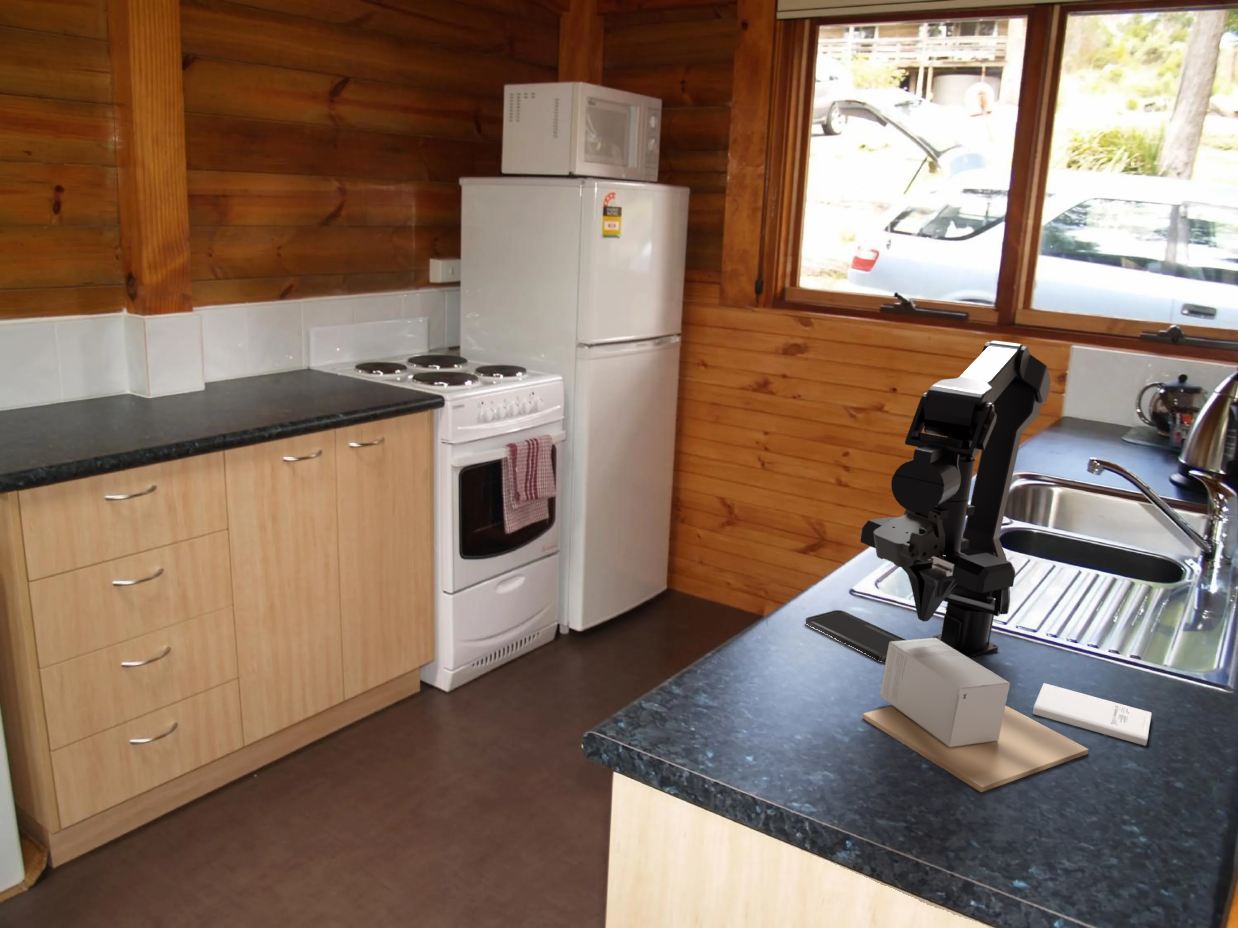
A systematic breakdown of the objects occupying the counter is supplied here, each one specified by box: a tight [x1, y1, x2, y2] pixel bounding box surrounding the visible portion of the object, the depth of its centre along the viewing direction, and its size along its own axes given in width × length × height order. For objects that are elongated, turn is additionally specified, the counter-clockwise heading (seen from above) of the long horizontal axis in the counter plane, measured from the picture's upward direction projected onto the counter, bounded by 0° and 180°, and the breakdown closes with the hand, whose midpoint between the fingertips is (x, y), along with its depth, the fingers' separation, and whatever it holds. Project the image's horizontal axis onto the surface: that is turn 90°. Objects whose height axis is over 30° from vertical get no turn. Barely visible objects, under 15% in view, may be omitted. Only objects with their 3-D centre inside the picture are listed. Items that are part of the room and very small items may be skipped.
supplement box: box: [879, 637, 1011, 747], centre depth 118 cm, size 7×7×13 cm
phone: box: [805, 609, 907, 663], centre depth 142 cm, size 8×1×15 cm
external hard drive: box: [1032, 682, 1153, 747], centre depth 123 cm, size 2×8×12 cm
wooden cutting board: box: [862, 705, 1089, 793], centre depth 116 cm, size 18×17×1 cm
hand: (923, 620), depth 121 cm, fingers closed
